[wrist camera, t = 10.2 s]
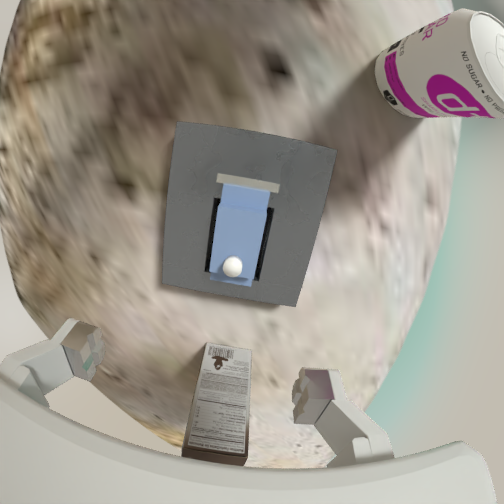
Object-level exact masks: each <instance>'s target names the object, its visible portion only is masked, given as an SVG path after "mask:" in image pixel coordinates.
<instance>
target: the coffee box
mask: <svg viewBox="0 0 504 504" xmlns="http://www.w3.org/2000/svg"><path fill="white" fill-rule="evenodd" d="M251 364H252V351H251V350H248V349H242V348H235V347H230V346H224V345H218V344H212V343H206V346H205V350H204V354H203V358H202V362H201V367H200V371H199V375H198V379H197V383H196V388H195V392H194V396H193V400H192V405H191V409H190V414H189V418H188V423H187V427H186V432H185V436H184V441H183V445H182V457H185V458H190V459H195V460H201V461H207V462H213V463H220V464H227V465H236V466H244V464H245V462H246V460H247V458H248V440H249V416H250V389H251Z"/></svg>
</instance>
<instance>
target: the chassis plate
mask: <svg viewBox="0 0 504 504" xmlns="http://www.w3.org/2000/svg"><path fill="white" fill-rule="evenodd" d="M336 154H337V150H336V149H332V148H328V147H324V146H320V145H317V144H312V143H308V142H304V141H300V140H295V139H291V138H286V137H281V136H276V135H271V134H266V133H261V132H255V131H249V130H243V129H237V128H230V127H223V126H216V125H208V124H199V123H189V122H178V121H177V125H176V131H175V138H174V145H173V152H172V159H171V167H170V175H169V184H168V194H167V205H166V216H165V230H164V246H163V269H162V284H167V285H172V286H177V287H182V288H187V289H192V290H197V291H203V292H208V293H213V294H219V295H224V296H230V297H236V298H241V299H247V300H253V301H260V302H266V303H272V304H279V305H285V306H292V307H296V304H297V300H298V297H299V294H300V291H301V288H302V284H303V281H304V278H305V274H306V271H307V267H308V264H309V260H310V257H311V253H312V250H313V246H314V243H315V239H316V235H317V232H318V228H319V224H320V220H321V217H322V213H323V209H324V205H325V201H326V197H327V193H328V189H329V185H330V180H331V176H332V172H333V167H334V163H335V159H336ZM223 184H230V185H236V186H242V187H248V188H253V189H259V190H264V191H269V192H270V196H269V201H268V206H267V207H271V208H272V209H271V214H270V218H269V223H268V228H267V233H266V237H265V242H264V247H263V251H262V256H261V261H260V266H259V268H258V267H256V270H255V275H254V279H252V284H251V287H249V286H244V285H238V284H232V283H226V282H221V281H215V280H210V275H211V272H209V270H210V262H211V259H209V258H210V250H211V243H212V235H213V228H214V221H215V214H216V207H217V200H218V198H220V199H221V196H222V190H223Z"/></svg>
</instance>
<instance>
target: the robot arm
mask: <svg viewBox="0 0 504 504" xmlns="http://www.w3.org/2000/svg"><path fill="white" fill-rule="evenodd" d="M101 337H102V331H101V329H100V328H98V327H95V326H92V325H90V324H87V323H84V322H81V321H78V320H76V319H73V318H69V319H67V321H66V322H65V323H64V324H63V325H62V327H61V328H60V329H59V330H58V331H57V333H56V334H55V335H54V336H53V338H52V339H51V340H49V339H47V340H45V341H42V342H40V343H37V344H35V345H32V346H30V347H27V348H24V349H22V350H19V351H17V352H14V353H12V354H9V355H7V357H6V358H5V359H4V360H3V361H2V363H1V364H0V504H497V501H496V496H495V491H494V487H493V483H492V479H491V476H490V473H489V469H488V466H487V464H486V461H485V459H484V457H483V456H482V455H481V454H480V453H479V452H478V451H477V450H475V449H474V448H473V447H471V446H470V445H469V444H467V443H465V442H463V441H455V442H452V443H449V444H446V445H443V446H440V447H437V448H434V449H430V450H427V451H423V452H420V453H415V454H412V455H407V456H403V457H399V458H394V455H393V451H392V447H391V444H390V441H389V437H388V434H387V433H386V432H385V431H384V430H383V429H382V428H381V427H380V426H378V425H377V424H376V423H375V422H374V421H373V420H372V419H370V417H369V416H368V415H366V414H365V413H364V412H363V411H362V410H361V409H360V408H359V407H358V406H357V405H356V404H355V403H354V402H352V401H351V400H347V396H346V392H345V388H344V385H343V381H342V378H341V374H340V371H339V370H338V369H322V368H306V367H302V368H301V370H300V372H299V379H297V380H296V381H295V383H294V385H293V390H292V402H293V403H294V404H295V405H296V406H295V408H294V410H293V416H294V424H312V425H314V426H315V427H316V429H317V430H318V431H319V433H320V434H321V435H322V437H323V438H324V439H325V441H326V442H327V443H328V445H329V446H330V447H331V448H332V450H333V451H334V452H335V454H336V455H337V456H336V457H335V458H334V459H333V460H332V461H331V462H330V463H328V464H327V468H304V469H282V468H259V467H246V466H236V465H227V464H220V463H213V462H207V461H201V460H195V459H190V458H185V457H180V456H176V455H171V454H167V453H163V452H159V451H156V450H152V449H148V448H145V447H141V446H138V445H135V444H132V443H128V442H126V441H122V440H120V439H117V438H114V437H111V436H109V435H106V434H104V433H101V432H99V431H96V430H94V429H91V428H89V427H86V426H84V425H82V424H80V423H77V422H75V421H73V420H71V419H69V418H67V417H65V416H63V415H60V414H59V413H56V412H55V411H53V410H51V409H49V403H48V401H47V400H46V398H45V397H44V395H45V394H47V393H49V392H50V391H52V390H53V389H55V388H57V387H58V386H60V385H61V384H63V383H65V382H66V381H68V380H69V379H71V378H73V377H74V376H76V377H79V378H81V379H84V380H87V381H91V380H92V378H93V376H94V374H95V373H96V366H97V365H99V364H101V362H102V360H103V358H104V354H105V344H104V342H103V341H102V340H101Z"/></svg>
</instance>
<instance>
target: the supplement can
mask: <svg viewBox="0 0 504 504" xmlns="http://www.w3.org/2000/svg"><path fill="white" fill-rule="evenodd" d="M375 77H376V82H377V86H378V88H379V89H380V91H381V93H382V95H383V97H384V99H385V100H386V101H387V102H388V103H389V104H390V105H391V106H392V108H393V109H395V110H397V111H398V112H400V113H401V114H403V115H405V116H409V117H413V118H429V117H480V118H499V119H504V24H503V23H502V22H501V21H499V20H498V19H497V18H495V17H494V16H493V15H491V14H489V13H485V12H481V11H479V12H476V11H472V10H468V9H464V8H463V9H460V10H457V11H455V12H452V13H450V14H448V15H446V16H444V17H442V18H440V19H438V20H436V21H434V22H432V23H430V24H429V25H427V26H425V27H423V28H421V29H419V30H417V31H416V32H414V33H412V34H410V35H409V36H407V37H405V38H403V39H402V40H400V41H398V42H397V43H395V44H393V45H392V46H390V47H388V48H387V49H385V50H384V51H382V52H381V54H380V55H379V57H378V58H377V60H376V65H375Z"/></svg>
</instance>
